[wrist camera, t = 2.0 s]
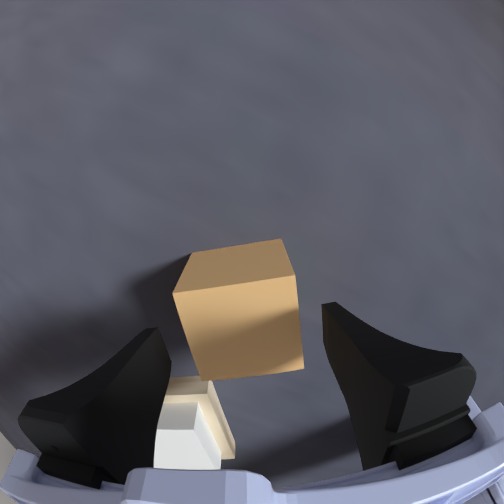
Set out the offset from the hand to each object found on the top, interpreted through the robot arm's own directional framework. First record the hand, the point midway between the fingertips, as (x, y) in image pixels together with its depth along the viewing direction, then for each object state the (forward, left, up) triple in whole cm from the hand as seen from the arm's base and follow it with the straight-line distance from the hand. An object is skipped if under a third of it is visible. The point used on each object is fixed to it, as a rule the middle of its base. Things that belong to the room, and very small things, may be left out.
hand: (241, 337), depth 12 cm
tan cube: (0, 0, -5) cm, 5 cm away
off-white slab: (+8, +11, -3) cm, 14 cm away
